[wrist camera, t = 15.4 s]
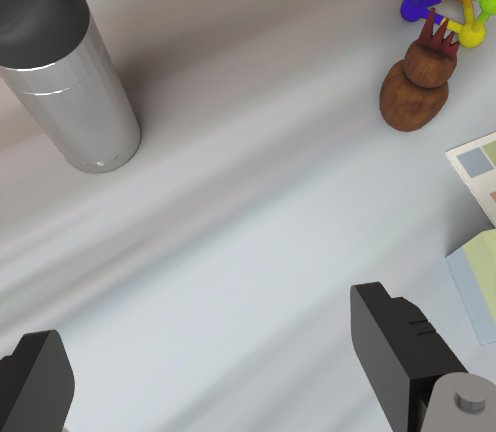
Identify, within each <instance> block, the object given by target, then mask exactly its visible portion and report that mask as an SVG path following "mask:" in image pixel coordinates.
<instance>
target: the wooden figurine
mask: <svg viewBox="0 0 496 432" xmlns="http://www.w3.org/2000/svg"><path fill="white" fill-rule="evenodd" d="M434 17H435V8H432V9H431V11H430V13H429V16H428V18H427V20H426V22H425V25H424V27H423V29H422V32H421V34H420V36H419V39H417V40H415V41H414V42H413V43H412V44H411V45H410V47H409V49H408V51H407V53H406V55H405V58H404V59H403V60H401V61H399V62H398V63H396V64H394V66H393V67H392V68H391V69H390V71H389V73H388V74H387V76H386V78H385V80H384V82H383V84H382V87H381V92H380V111H381V114H382V116H383V118H384V120H385V121H386V122H387V123H388V124H389V125H390V126H391V127H393V128H395V129H397V130H399V131H404V132H410V131H414V130H417V129H420V128H421V127H422V126H424V125H425V124H426V123H428V122H429V121H430V120H431V119H433V118H434V117H435V116H436V115H437V113H438V112H439V111H440V110H441V108H442V107H443V105H444V104H445V102H446V100H447V98H448V82H447V80H448V79H449V78H450V77H451V75H452V73H453V71H454V69H455V67H456V64H457V55H456V53H457V50H458V47H459V44H460V41H456V42H455V43H453V44H451V42H452V39H453V37H454V34H455V32H454V31H452V32H451V33H450V34H449V35H448V36H447V37H446V39H444V38H443V37H444V34H445V32H446V29H447V26H448V23H449V19H448V18H447V19H446V20H445V21H444V22H443V24H442V25H441V26H440V28H439V29H438V30H437V32H436V33H435V34H434V35H433V36H432V34H433V25H434Z"/></svg>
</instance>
